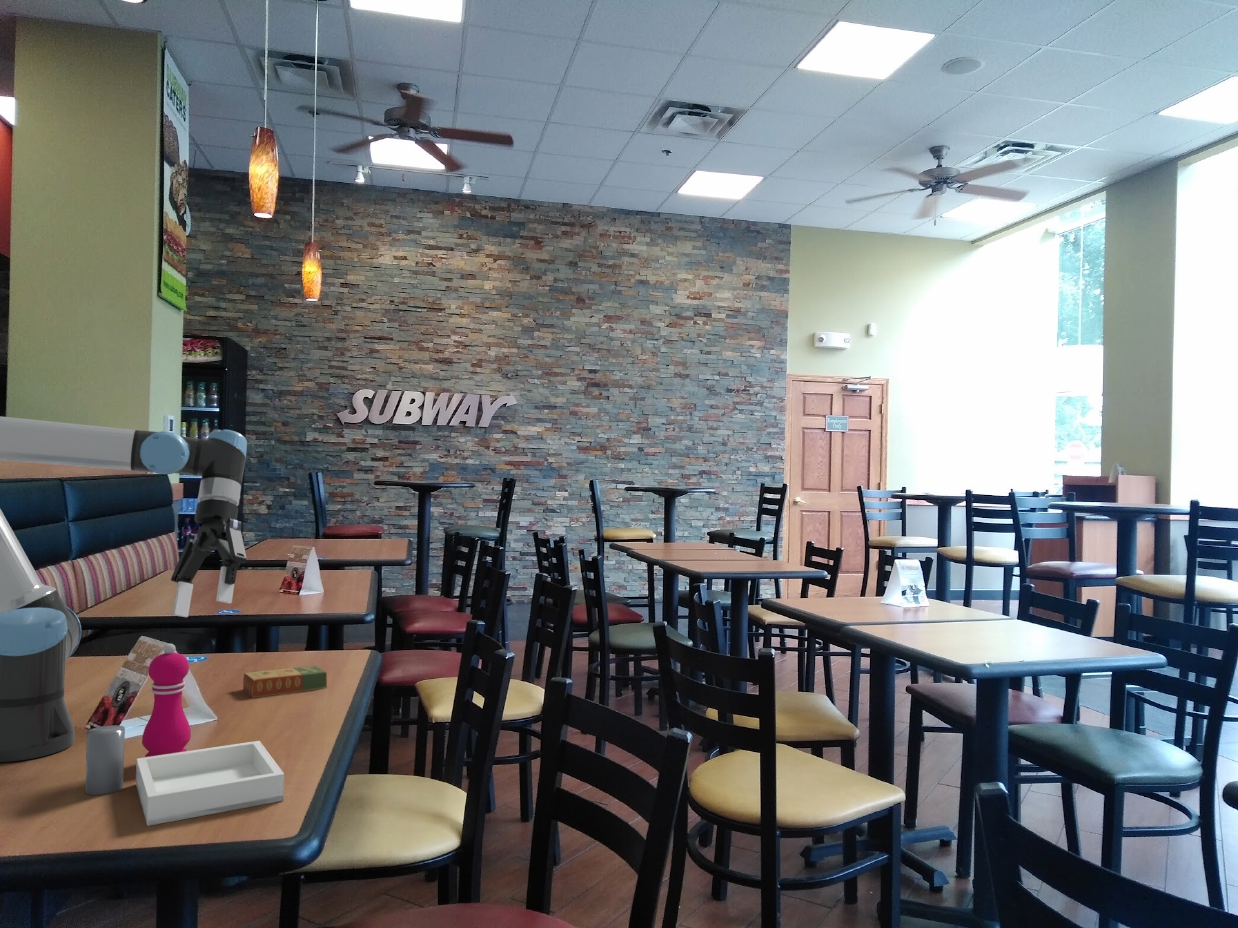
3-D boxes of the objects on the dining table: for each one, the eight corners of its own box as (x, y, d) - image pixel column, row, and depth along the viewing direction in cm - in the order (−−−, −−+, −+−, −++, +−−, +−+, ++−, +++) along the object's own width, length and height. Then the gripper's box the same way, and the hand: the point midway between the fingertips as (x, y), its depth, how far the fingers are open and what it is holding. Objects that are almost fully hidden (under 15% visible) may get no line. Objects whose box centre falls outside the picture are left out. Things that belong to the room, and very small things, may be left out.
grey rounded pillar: (85, 797, 126) (87, 736, 126) (84, 786, 130) (86, 728, 131) (124, 790, 129) (126, 731, 129) (121, 780, 133) (123, 723, 133)
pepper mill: (175, 771, 138) (179, 648, 138) (131, 770, 138) (135, 647, 138) (198, 756, 145) (202, 640, 145) (156, 755, 145) (160, 638, 145)
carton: (242, 690, 189) (243, 671, 189) (315, 681, 198) (315, 663, 198) (252, 699, 182) (253, 679, 182) (327, 689, 192) (327, 670, 192)
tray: (147, 825, 117) (148, 796, 117) (135, 784, 132) (136, 758, 132) (283, 800, 127) (284, 773, 127) (258, 764, 142) (259, 740, 142)
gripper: (274, 494, 165) (261, 600, 156) (198, 524, 177) (181, 624, 168) (240, 482, 159) (224, 591, 150) (163, 514, 171) (144, 617, 162)
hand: (201, 609), depth 159 cm, fingers open, 13 cm apart
